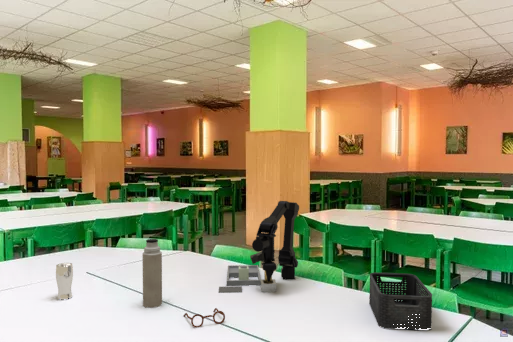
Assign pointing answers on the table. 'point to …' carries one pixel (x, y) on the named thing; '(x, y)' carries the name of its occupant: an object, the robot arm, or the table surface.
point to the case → (234, 272)
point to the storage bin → (400, 301)
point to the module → (243, 273)
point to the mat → (230, 289)
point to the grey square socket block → (268, 286)
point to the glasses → (206, 317)
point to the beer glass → (64, 280)
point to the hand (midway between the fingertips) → (268, 279)
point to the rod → (266, 278)
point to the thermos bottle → (152, 274)
